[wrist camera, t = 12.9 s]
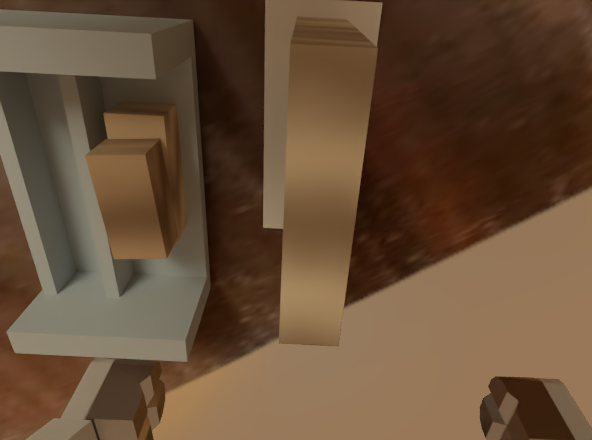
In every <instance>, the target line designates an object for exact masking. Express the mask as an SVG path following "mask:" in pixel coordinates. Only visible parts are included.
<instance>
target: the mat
mask: <svg viewBox="0 0 592 440" xmlns="http://www.w3.org/2000/svg"><path fill="white" fill-rule="evenodd" d="M382 4H383V3H382V2H364V1H346V0H265V83H264V185H263V228H277V229H283V221H284V194H285V167H286V140H287V113H288V87H289V60H290V42H291V38H292V35H293V31H294V27H295V24H296V20H297V16H300V17H319V18H337V19H347V20H348V21H349V22H351V23H352V24H353V25H354V26H355V27H356V28H357V29H358V30H359V31H360V32H361V33H362V34H363V35H364V36H366V37H367V38H368V39H369V40H370V41H371V42H372V43H373V44H374V45H375V46H376V47H377V42H378V34H379V27H380V19H381V11H382Z"/></svg>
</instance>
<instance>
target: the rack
mask: <svg viewBox="0 0 592 440" xmlns="http://www.w3.org/2000/svg"><path fill="white" fill-rule="evenodd" d="M120 102H140V103H159V104H176V108H177V119H178V130H179V141H180V152H181V163H182V174H183V185H184V195H185V206H186V217H187V225H186V227H185V229H184V231H183V233H182V235H181V237H180V239H179V241H178V243H175V244H174V246H173V248H172V250H171V252H170V254H169V256H168V258H167V259H114V257H113V254H112V250H111V247H110V243H109V240H108V236H107V233H106V229H105V225H104V222H103V218H102V215H101V211H100V208H99V204H98V201H97V197H96V194H95V190H94V186H93V183H92V179H91V176H90V172H89V169H88V165H87V162H86V158H85V155H86V154H87V153H89V152H90V151H91V150H92V149H94V148H95V147H96V146H98V145H99V144H100V143H101V142H103V141H104V140H105V139H108V138H107V132H106V126H105V121H104V115H103V113H104V112H106V111H107V110H109V109H110V108H112V107H113V106H115V105H116V104H118V103H120ZM0 155H1V158H2V161H3V164H4V167H5V171H6V174H7V177H8V180H9V183H10V187H11V190H12V193H13V196H14V199H15V203H16V206H17V209H18V212H19V215H20V219H21V222H22V225H23V228H24V231H25V235H26V238H27V241H28V244H29V247H30V251H31V254H32V257H33V260H34V263H35V267H36V270H37V273H38V276H39V279H40V283H41V286H42V289H43V290H42V291H41V292H40V293H39V294H38V296H37V297H36V298H35V299H34V300H33V301H32V303H31V304H30V305H29V306H28V307H27V308H26V310H25V311H24V312H23V313H22V314H21V315H20V317H19V318H18V319H17V320H16V321H15V322H14V324H13V325H12V326H11V327H10V328H9V329H8V331H7V334H8V337H9V339H10V342H11V344H12V347H13V350H14V352H15V353H25V354H45V355H64V356H84V357H104V358H124V359H144V360H163V361H183V362H188V359H189V355H190V352H191V349H192V346H193V343H194V340H195V336H196V333H197V330H198V327H199V324H200V320H201V317H202V314H203V311H204V308H205V305H206V301H207V298H208V295H209V292H210V289H211V282H210V267H209V252H208V237H207V222H206V206H205V191H204V176H203V161H202V146H201V130H200V115H199V100H198V85H197V69H196V54H195V39H194V24H193V20H190V19H171V18H152V17H134V16H115V15H96V14H77V13H58V12H39V11H21V10H2V9H0Z"/></svg>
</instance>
